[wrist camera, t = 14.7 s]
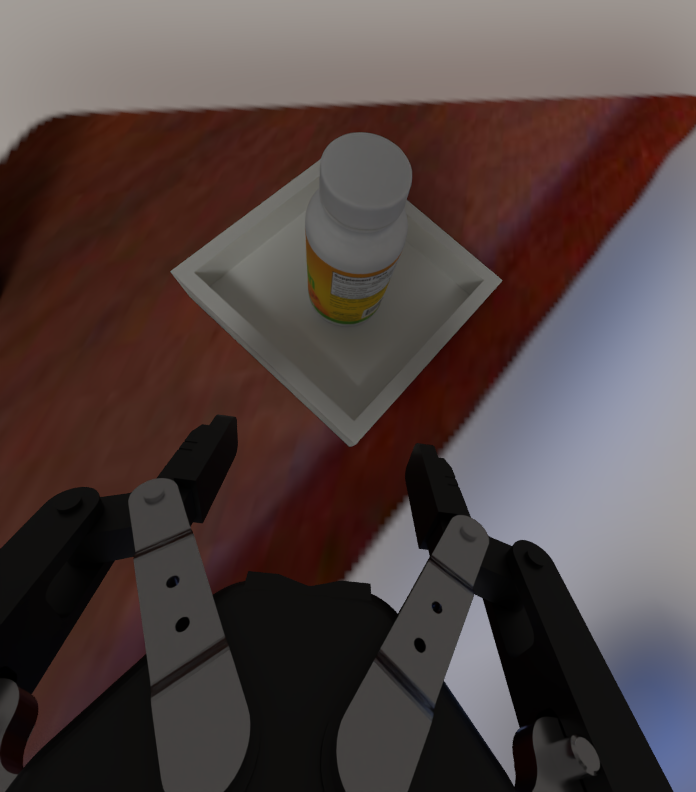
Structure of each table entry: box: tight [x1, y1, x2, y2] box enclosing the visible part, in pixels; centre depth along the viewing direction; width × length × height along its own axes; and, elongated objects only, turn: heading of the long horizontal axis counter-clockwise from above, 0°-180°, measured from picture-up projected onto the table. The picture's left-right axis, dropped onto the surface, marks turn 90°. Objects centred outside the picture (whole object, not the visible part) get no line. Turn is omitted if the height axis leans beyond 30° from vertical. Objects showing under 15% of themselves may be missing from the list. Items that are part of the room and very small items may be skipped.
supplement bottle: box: [305, 132, 412, 327], centre depth 17 cm, size 5×5×10 cm
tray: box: [170, 159, 502, 447], centre depth 21 cm, size 16×16×3 cm
